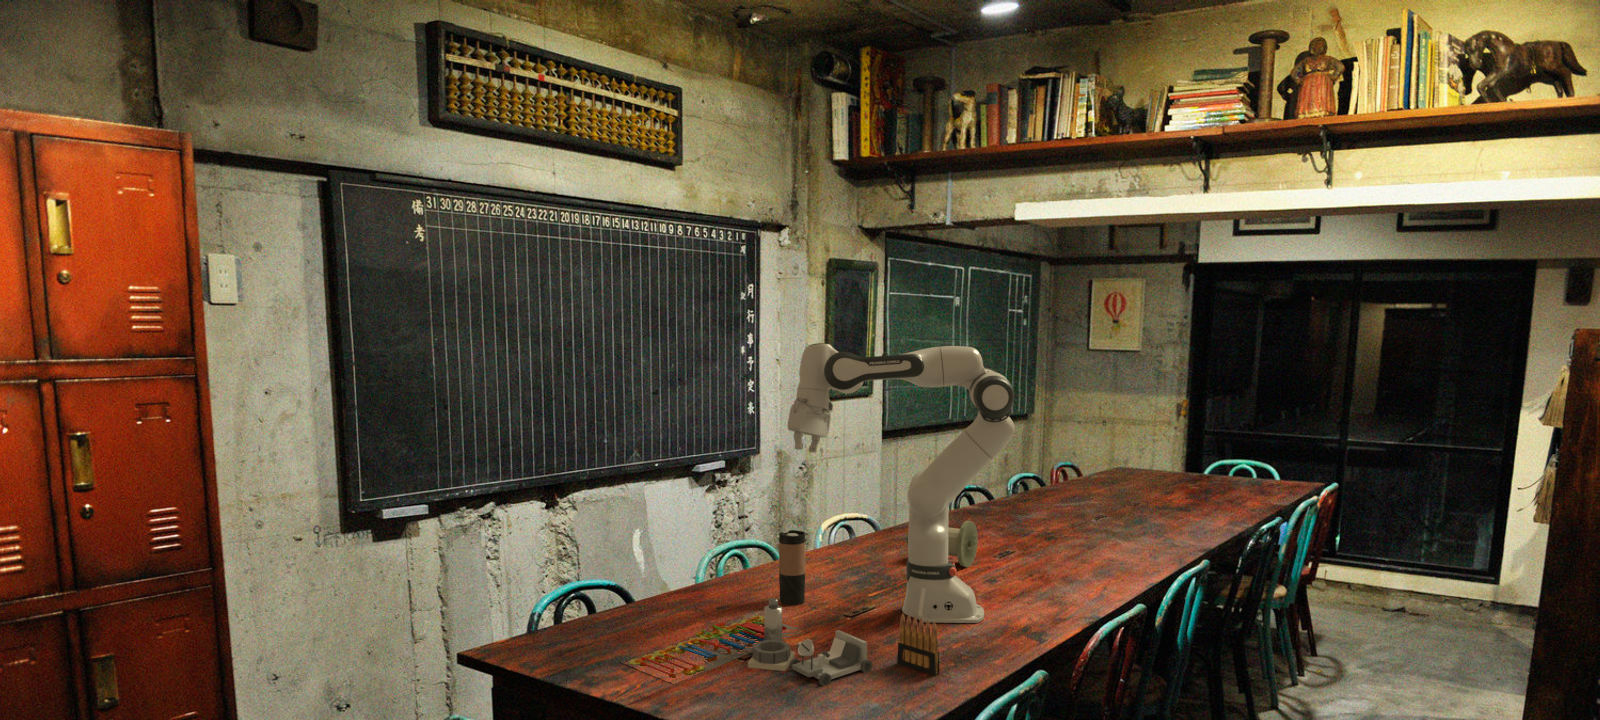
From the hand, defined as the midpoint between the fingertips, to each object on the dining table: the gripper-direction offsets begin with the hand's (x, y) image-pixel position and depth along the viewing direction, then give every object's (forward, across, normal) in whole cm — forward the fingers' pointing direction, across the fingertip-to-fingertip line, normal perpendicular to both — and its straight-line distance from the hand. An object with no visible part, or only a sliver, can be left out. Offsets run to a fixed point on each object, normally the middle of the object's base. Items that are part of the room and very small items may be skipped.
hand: (805, 451), depth 231 cm
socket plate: (+51, -24, -9) cm, 57 cm away
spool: (+30, +77, -22) cm, 86 cm away
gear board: (+52, -20, +8) cm, 56 cm away
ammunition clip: (+48, -13, -41) cm, 64 cm away
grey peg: (+49, -16, -5) cm, 52 cm away
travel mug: (+43, +18, +6) cm, 47 cm away
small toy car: (+51, -24, -23) cm, 61 cm away
